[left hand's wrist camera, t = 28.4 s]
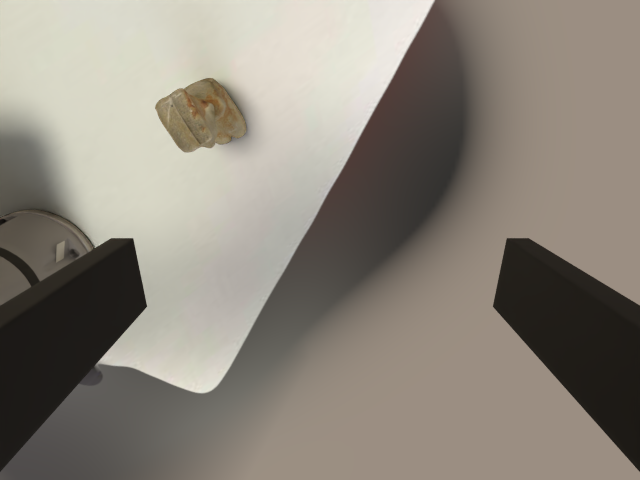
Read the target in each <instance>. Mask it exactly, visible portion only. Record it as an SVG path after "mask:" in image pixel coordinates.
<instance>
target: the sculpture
mask: <svg viewBox="0 0 640 480" xmlns="http://www.w3.org/2000/svg"><path fill="white" fill-rule="evenodd" d="M155 109H156V110H157V113H158V116H159V118H160V120H161V122H162V124H163V125H164V127H165V128H166V130H167V131H168V132H169V134H170V135H171V137H172V138H173V140H174V142H175V143H176V145H177V146H178V147H179V148H180V149H181V150H182V151H184V152H192V151H195V150H196V149H197V148H199V147H206V148H212V147H213V146H214V145H215V142H216V143H217V144H226V143H228V142H229V141H231V137H235V138H240V137H242V136H243V135H244V134H245V132H246V123H245V121H244V118H243V117H242V115H241V113H240V111H239V110H238V108H237V107H236V105H235V104H234V102H233V101H232V99H231V98H230V97H229V95H228V94H227V92H226V91H225V89H224V88H223V87H222V86H221V85H220V84H219V83H218V82H217V81H216V80H214V79H213V78H207V79H203V80H200V81H198V82H195V83H193V84H191V85H189V86H188V87H186V88H185V89H182V88H181V89H177V90H176V91H174V92H173V93H172V94H170V95H169V96H167V97H165V98H162V99H161V100H159V101H158V103H157V104H156V107H155Z"/></svg>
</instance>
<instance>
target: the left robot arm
mask: <svg viewBox="0 0 640 480" xmlns="http://www.w3.org/2000/svg"><path fill="white" fill-rule="evenodd" d="M146 307H147V304H146V299H145V294H144V289H143V284H142V280H141V275H140V270H139V265H138V260H137V255H136V250H135V245H134V240H133V238H111V239H109V240H108V241H106V242H105V243H103V244H101V245H100V246H98V247H96V248H95V249H94V248H93V246H92V244H91V243H90V241H89V240H88V239H87V237H86V236H85V235H84V234H83V233H82V232H81V231H80V230H79V229H78V228H77V227H76V226H74V225H73V224H72V223H70V222H69V221H67V220H66V219H64V218H62V217H60V216H58V215H55V214H53V213H50V212H46V211H42V210H21V211H17V212H14V213H11V214H8V215H5V216H3V217H1V218H0V471H1V470H2V469H3V468H4V467H5V466H6V465H7V463H8V462H9V461H10V460H11V459H12V458H13V457H14V456H15V454H16V453H17V452H18V451H19V450H20V449H21V448H22V447H23V445H24V444H25V443H26V442H27V441H28V440H29V439H30V438H31V436H32V435H33V434H34V433H35V432H36V431H37V430H38V429H39V427H40V426H41V425H42V424H43V423H44V422H45V421H46V420H47V418H48V417H49V416H50V415H51V414H52V413H53V412H54V411H55V410H56V408H57V407H58V406H59V405H60V404H61V403H62V402H63V401H64V399H65V398H66V397H67V396H68V395H69V394H70V393H71V392H72V390H73V389H74V388H75V387H76V386H77V385H78V384H79V383H80V381H81V380H82V379H83V378H84V377H85V376H86V375H87V374H88V372H89V371H90V370H91V369H92V368H93V367H94V366H95V365H96V363H97V362H98V361H99V360H100V359H101V358H102V357H103V356H104V354H105V353H106V352H107V351H108V350H109V349H110V348H111V347H112V345H113V344H114V343H115V342H116V341H117V340H118V339H119V338H120V336H121V335H122V334H123V333H124V332H125V331H126V330H127V329H128V327H129V326H130V325H131V324H132V323H133V322H134V321H135V320H136V318H137V317H138V316H139V315H140V314H141V313H142V312H143V311H144V309H145V308H146ZM493 307H494V308H495V309H496V311H497V312H498V313H499V314H500V315H501V316H502V317H503V318H504V320H505V321H506V322H507V323H508V324H509V325H510V326H511V327H512V329H513V330H514V331H515V332H516V333H517V334H518V335H519V336H520V338H521V339H522V340H523V341H524V342H525V343H526V344H527V345H528V347H529V348H530V349H531V350H532V351H533V352H534V353H535V354H536V356H537V357H538V358H539V359H540V360H541V361H542V362H543V363H544V365H545V366H546V367H547V368H548V369H549V370H550V371H551V372H552V374H553V375H554V376H555V377H556V378H557V379H558V380H559V381H560V383H561V384H562V385H563V386H564V387H565V388H566V389H567V390H568V392H569V393H570V394H571V395H572V396H573V397H574V398H575V399H576V400H577V402H578V403H579V404H580V405H581V406H582V407H583V408H584V410H585V411H586V412H587V413H588V414H589V415H590V416H591V417H592V418H593V420H594V421H595V422H596V423H597V424H598V425H599V426H600V427H601V429H602V430H603V431H604V432H605V433H606V434H607V435H608V436H609V438H610V439H611V440H612V441H613V442H614V443H615V444H616V445H617V447H618V448H619V449H620V450H621V451H622V452H623V453H624V454H625V456H626V457H627V458H628V459H629V460H630V461H631V462H632V463H633V465H634V466H635V467H636V468H637V469H638V470H639V471H640V305H638V304H636V303H635V302H633V301H631V300H630V299H628V298H626V297H625V296H623V295H621V294H620V293H618V292H616V291H615V290H613V289H611V288H610V287H608V286H606V285H605V284H603V283H601V282H600V281H598V280H597V279H595V278H593V277H592V276H590V275H588V274H587V273H585V272H583V271H582V270H580V269H578V268H577V267H575V266H573V265H572V264H570V263H568V262H567V261H565V260H563V259H562V258H560V257H559V256H557V255H555V254H554V253H552V252H550V251H549V250H547V249H545V248H544V247H542V246H540V245H539V244H537V243H535V242H534V241H532V240H530V239H529V238H507V240H506V245H505V250H504V255H503V260H502V265H501V270H500V275H499V280H498V284H497V289H496V294H495V299H494V304H493Z"/></svg>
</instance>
